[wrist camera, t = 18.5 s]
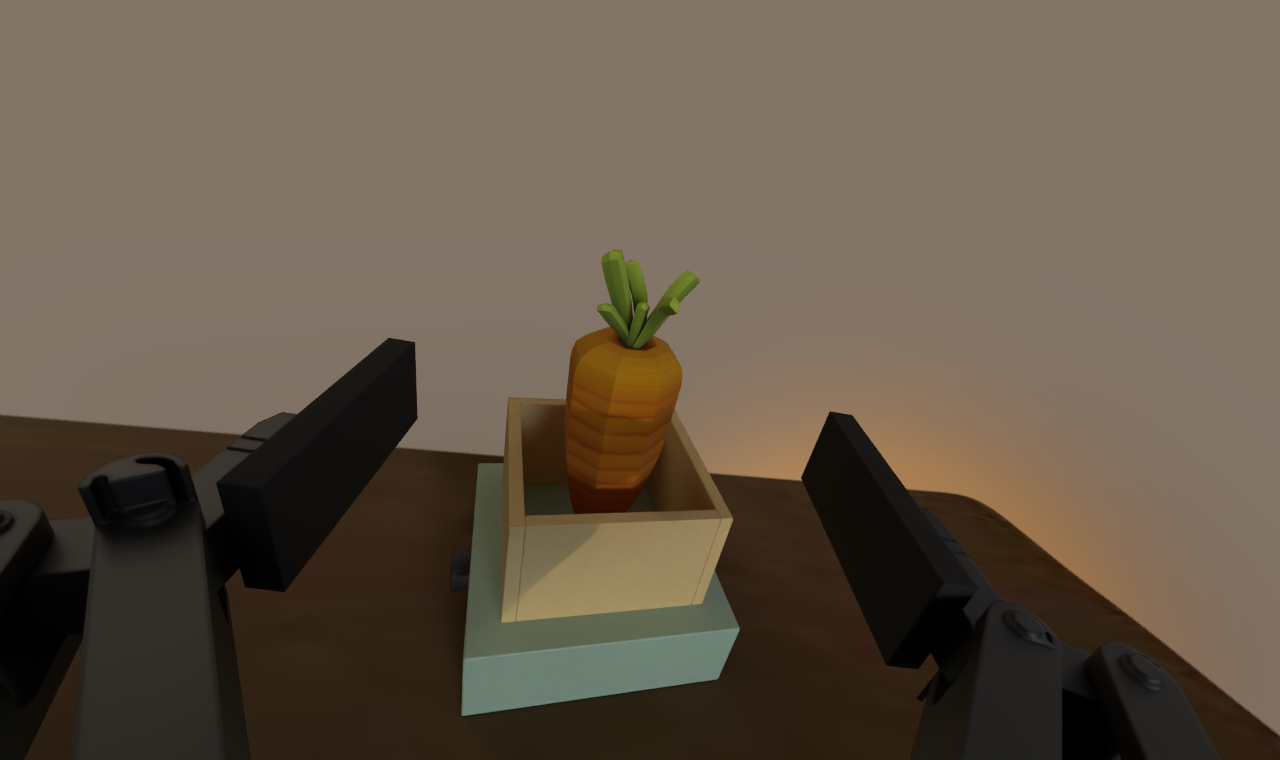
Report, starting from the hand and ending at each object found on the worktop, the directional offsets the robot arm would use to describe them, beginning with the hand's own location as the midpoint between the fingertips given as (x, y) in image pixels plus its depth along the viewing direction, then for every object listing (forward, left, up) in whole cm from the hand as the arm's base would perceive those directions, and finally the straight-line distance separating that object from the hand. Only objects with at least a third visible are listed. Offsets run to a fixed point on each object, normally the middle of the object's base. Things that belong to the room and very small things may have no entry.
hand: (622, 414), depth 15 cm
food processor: (-2, +5, -15) cm, 16 cm away
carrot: (-2, +5, -11) cm, 13 cm away
